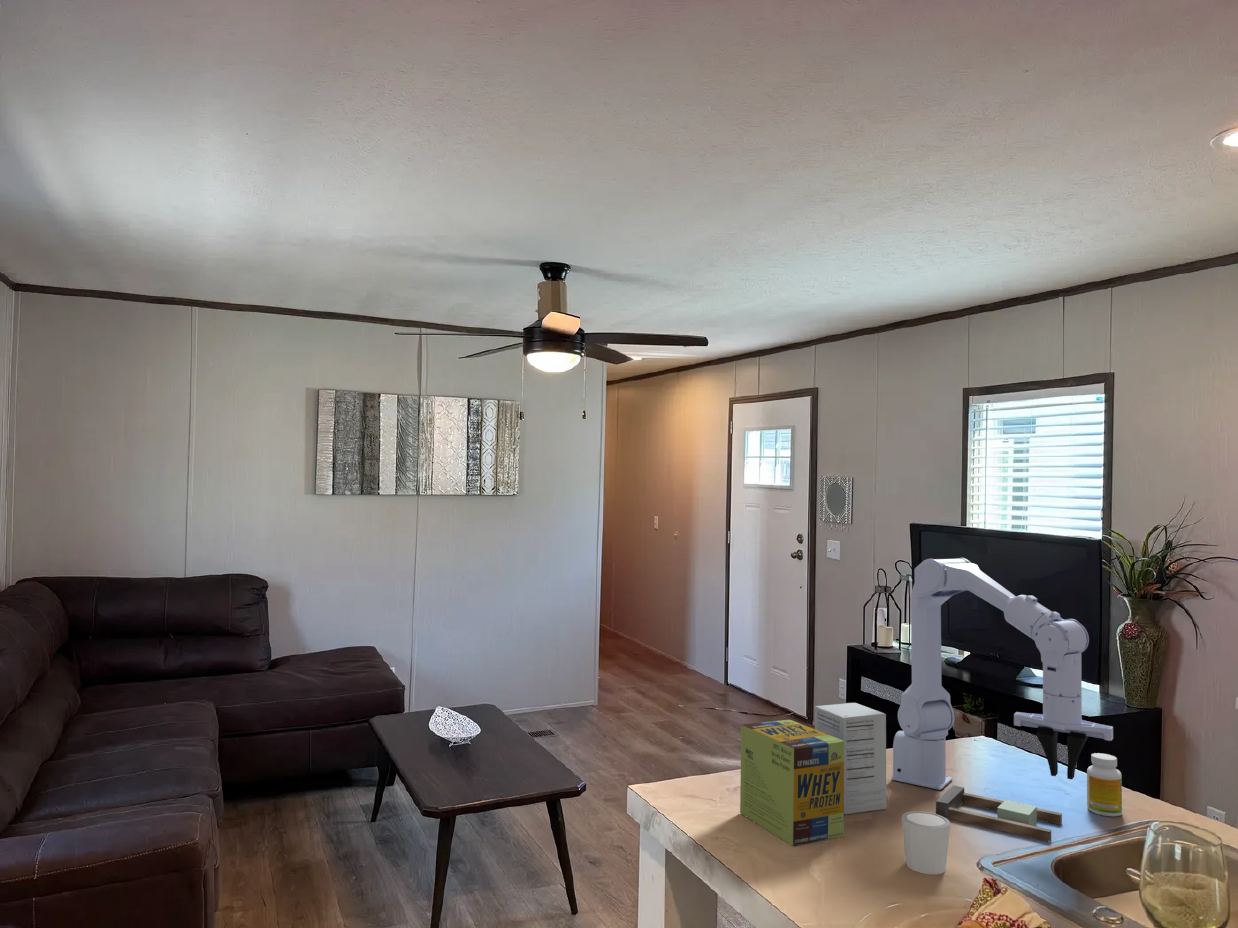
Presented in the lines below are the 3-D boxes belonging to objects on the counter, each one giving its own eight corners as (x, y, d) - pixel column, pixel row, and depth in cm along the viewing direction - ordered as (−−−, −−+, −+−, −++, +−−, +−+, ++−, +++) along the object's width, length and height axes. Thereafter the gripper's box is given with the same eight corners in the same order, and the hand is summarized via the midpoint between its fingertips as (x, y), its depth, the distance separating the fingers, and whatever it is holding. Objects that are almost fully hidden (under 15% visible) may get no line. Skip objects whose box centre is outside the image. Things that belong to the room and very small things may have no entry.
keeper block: (997, 825, 145) (997, 807, 145) (1005, 817, 148) (1005, 799, 149) (1029, 833, 141) (1029, 814, 142) (1036, 824, 145) (1036, 806, 145)
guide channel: (935, 815, 148) (935, 800, 148) (953, 798, 156) (953, 785, 156) (1049, 841, 137) (1049, 826, 137) (1061, 822, 145) (1061, 807, 146)
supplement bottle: (1127, 818, 148) (1126, 761, 148) (1093, 815, 149) (1092, 759, 149) (1115, 807, 153) (1115, 752, 154) (1082, 804, 154) (1082, 750, 155)
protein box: (793, 847, 134) (793, 747, 134) (738, 813, 148) (739, 723, 148) (845, 836, 138) (846, 740, 139) (788, 805, 152) (788, 717, 153)
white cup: (894, 856, 131) (894, 810, 131) (937, 855, 131) (937, 809, 132) (913, 876, 124) (913, 828, 124) (958, 875, 124) (958, 827, 125)
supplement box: (888, 809, 150) (888, 713, 151) (844, 815, 147) (844, 717, 148) (855, 791, 159) (855, 701, 160) (813, 797, 156) (813, 704, 157)
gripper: (1009, 690, 143) (1009, 772, 142) (1108, 704, 134) (1109, 792, 134) (1019, 683, 148) (1019, 762, 148) (1114, 696, 140) (1115, 780, 139)
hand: (1062, 775), depth 141 cm, fingers closed
